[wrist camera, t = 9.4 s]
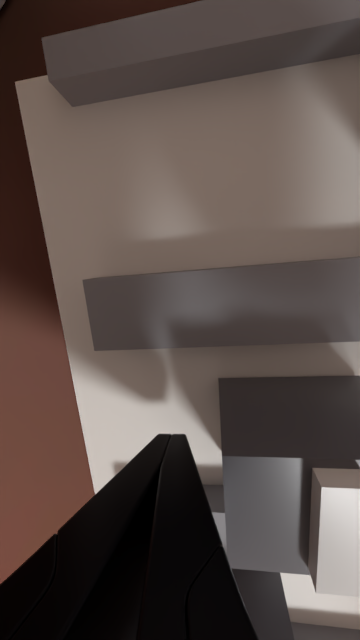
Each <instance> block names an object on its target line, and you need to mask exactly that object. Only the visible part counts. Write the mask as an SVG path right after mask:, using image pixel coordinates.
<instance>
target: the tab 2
mask: <svg viewBox="0 0 360 640" xmlns="http://www.w3.org/2000/svg"><path fill="white" fill-rule="evenodd" d="M231 570H232V572H233V575H234V578H235V580H236V583H237V586H238V589H239V591H240V594H241V597H242V599H243V602H244V604H245V607H246V609H247V612H248V614H249V616H250V619H251V621H252V623H253V626H254V628H255V630H256V633H257V635H258V637H259V640H294V635H293V631H292V626H291V621H290V617H289V612H288V607H287V603H286V598H285V594H284V589H283V584H282V580H281V575H280V573H279V572H267V571H256V570H244V569H233V568H231Z"/></svg>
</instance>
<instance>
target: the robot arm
mask: <svg viewBox="0 0 360 640" xmlns="http://www.w3.org/2000/svg"><path fill="white" fill-rule="evenodd" d="M0 640H259V637H258V635H257V633H256V630H255V628H254V626H253V623H252V621H251V619H250V616H249V614H248V612H247V609H246V607H245V604H244V602H243V599H242V597H241V594H240V591H239V589H238V586H237V583H236V580H235V578H234V575H233V572H232V570H231V567H230V564H229V561H228V558H227V555H226V552H225V549H224V547H223V544H222V541H221V538H220V535H219V532H218V529H217V526H216V523H215V520H214V517H213V514H212V511H211V508H210V505H209V502H208V499H207V496H206V493H205V490H204V487H203V484H202V481H201V478H200V475H199V472H198V469H197V466H196V463H195V460H194V457H193V454H192V451H191V448H190V445H189V442H188V439H187V436H186V435H185V434H158V435H157V436H155V437H154V438H153V439H152V440H151V441H150V442H149V443H148V444H147V445H146V446H145V447H144V448H143V449H142V450H141V451H140V452H139V453H138V454H137V455H136V456H135V457H134V458H133V459H132V460H131V461H130V462H129V463H127V464H126V465H125V466H124V467H123V468H122V469H121V470H120V471H119V472H118V473H117V474H116V475H115V476H114V477H113V478H112V479H111V480H110V481H109V482H108V483H107V484H106V485H105V486H104V487H103V488H102V489H101V490H99V491H98V492H97V493H96V494H95V495H94V496H93V497H92V498H91V499H90V500H89V501H88V502H87V503H86V504H85V505H84V506H83V507H82V508H81V509H80V510H79V511H78V512H77V513H76V514H75V515H74V516H73V517H71V518H70V519H69V520H68V521H67V522H66V523H65V524H64V525H63V526H62V527H61V528H60V529H59V530H58V533H57V534H54V535H53V536H52V537H51V538H50V539H48V540H47V541H46V542H45V543H44V544H43V545H42V546H41V547H40V548H39V549H38V550H37V551H36V552H35V553H34V554H33V555H32V556H31V557H30V558H28V559H27V560H26V561H25V562H24V563H23V564H22V565H21V566H20V567H19V568H18V569H17V570H16V571H14V572H13V573H12V574H11V575H10V576H9V577H8V578H7V579H6V580H5V581H3V582H2V583H1V584H0Z"/></svg>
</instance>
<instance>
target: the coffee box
mask: <svg viewBox="0 0 360 640" xmlns="http://www.w3.org/2000/svg"><path fill="white" fill-rule="evenodd" d="M5 1H6V0H0V9H1V8H2V6H3V4H4V3H5Z"/></svg>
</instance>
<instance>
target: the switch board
mask: <svg viewBox="0 0 360 640" xmlns="http://www.w3.org/2000/svg"><path fill="white" fill-rule="evenodd" d="M41 39H42V44H43V50H44V56H45V62H46V68H47V74H48V75H45V76H40V77H35V78H31V79H26V80H21V81H16V82H15V86H16V91H17V96H18V101H19V106H20V111H21V116H22V122H23V127H24V132H25V137H26V142H27V147H28V152H29V157H30V163H31V168H32V173H33V178H34V183H35V188H36V193H37V199H38V204H39V209H40V214H41V219H42V224H43V229H44V235H45V240H46V245H47V250H48V255H49V260H50V265H51V271H52V276H53V281H54V286H55V291H56V296H57V301H58V306H59V312H60V317H61V322H62V327H63V332H64V337H65V342H66V348H67V353H68V358H69V363H70V368H71V373H72V378H73V384H74V389H75V394H76V399H77V404H78V409H79V414H80V419H81V425H82V430H83V435H84V440H85V445H86V450H87V455H88V461H89V466H90V471H91V476H92V481H93V486H94V491H95V494H96V493H97V492H98V491H99V490H101V489H102V488H103V487H104V486H105V485H106V484H107V483H108V482H109V481H110V480H111V479H112V478H113V477H114V476H115V475H116V474H117V473H118V472H119V471H120V470H121V469H122V468H123V467H124V466H125V465H126V464H127V463H129V462H130V461H131V460H132V459H133V458H134V457H135V456H136V455H137V454H138V453H139V452H140V451H141V450H142V449H143V448H144V447H145V446H146V445H147V444H148V443H149V442H150V441H151V440H152V439H153V438H154V437H155V436H157V435H158V434H185V435H186V436H187V439H188V442H189V445H190V448H191V451H192V454H193V457H194V460H195V463H196V466H197V469H198V472H199V475H200V478H201V481H202V484H203V487H204V490H205V493H206V496H207V499H208V502H209V505H210V508H211V511H212V514H213V517H214V520H215V523H216V526H217V529H218V532H219V535H220V538H221V541H222V544H223V547H224V549H225V552H226V555H227V543H226V524H225V505H224V486H223V467H222V448H221V426H220V404H219V382H218V378H249V377H304V376H360V0H202V1H197V2H193V3H189V4H184V5H180V6H176V7H172V8H167V9H163V10H159V11H154V12H150V13H146V14H141V15H137V16H133V17H128V18H124V19H120V20H116V21H111V22H107V23H103V24H98V25H94V26H90V27H85V28H81V29H77V30H72V31H68V32H64V33H60V34H55V35H51V36H47V37H42V38H41ZM280 575H281V580H282V584H283V589H284V594H285V598H286V603H287V607H288V612H289V617H290V621H291V626H292V631H293V635H294V640H360V597H350V596H340V595H330V594H319V593H316V592H315V588H314V585H313V582H312V579H311V575H301V574H290V573H280Z"/></svg>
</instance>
